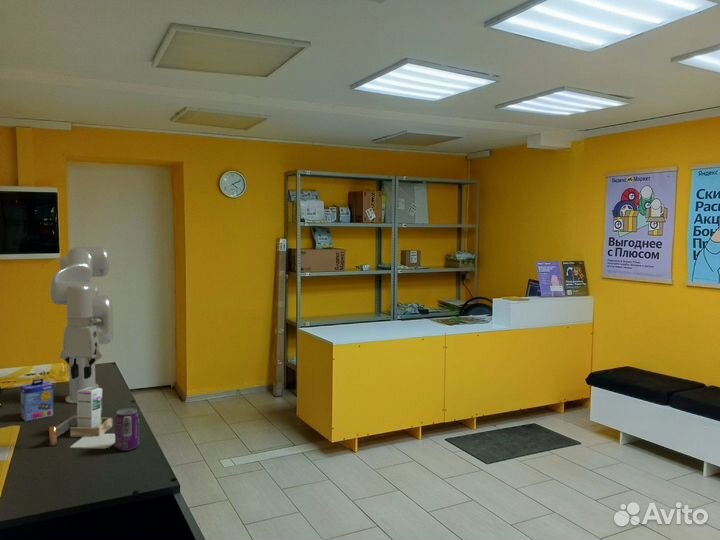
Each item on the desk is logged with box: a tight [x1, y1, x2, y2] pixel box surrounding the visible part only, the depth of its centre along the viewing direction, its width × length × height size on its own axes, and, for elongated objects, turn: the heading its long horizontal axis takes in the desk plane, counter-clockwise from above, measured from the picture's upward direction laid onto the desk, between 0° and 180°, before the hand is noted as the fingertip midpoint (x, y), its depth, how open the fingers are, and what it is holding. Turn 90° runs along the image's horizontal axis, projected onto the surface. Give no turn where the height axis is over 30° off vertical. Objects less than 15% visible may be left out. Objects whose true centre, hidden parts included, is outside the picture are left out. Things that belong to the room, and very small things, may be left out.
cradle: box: [69, 417, 114, 438], centre depth 197 cm, size 11×10×3 cm
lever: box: [48, 409, 77, 446], centre depth 193 cm, size 19×2×6 cm, turn 179°
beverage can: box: [114, 407, 140, 452], centre depth 183 cm, size 7×7×12 cm
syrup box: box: [76, 387, 103, 428], centre depth 197 cm, size 6×6×14 cm
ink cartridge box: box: [20, 378, 54, 422], centre depth 211 cm, size 10×6×14 cm, turn 137°
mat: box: [69, 433, 115, 450], centre depth 188 cm, size 12×12×1 cm
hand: (81, 377), depth 187 cm, fingers open, 3 cm apart
